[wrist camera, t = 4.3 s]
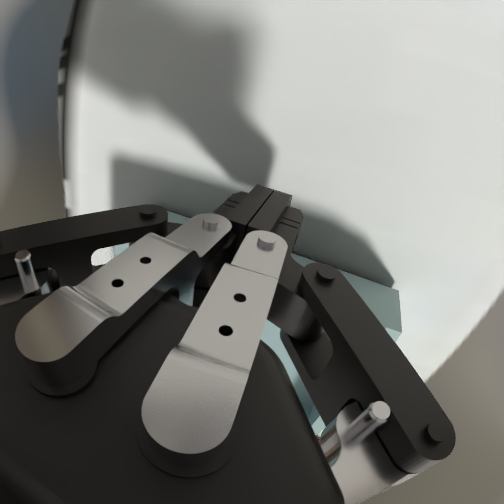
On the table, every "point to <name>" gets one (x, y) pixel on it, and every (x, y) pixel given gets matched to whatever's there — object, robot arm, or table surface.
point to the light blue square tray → (375, 297)
